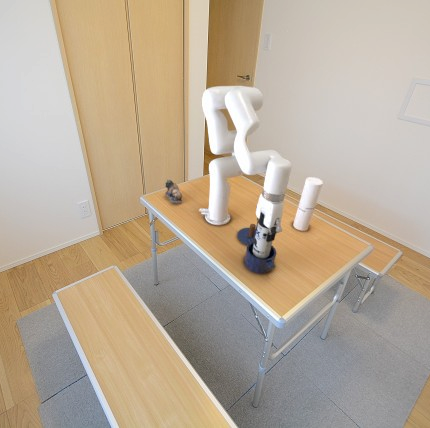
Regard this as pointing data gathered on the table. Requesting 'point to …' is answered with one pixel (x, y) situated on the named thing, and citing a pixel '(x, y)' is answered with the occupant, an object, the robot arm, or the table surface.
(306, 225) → the cylindrical container
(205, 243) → the table surface
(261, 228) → the spray can
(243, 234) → the pan lid
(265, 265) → the pan
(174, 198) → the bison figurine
